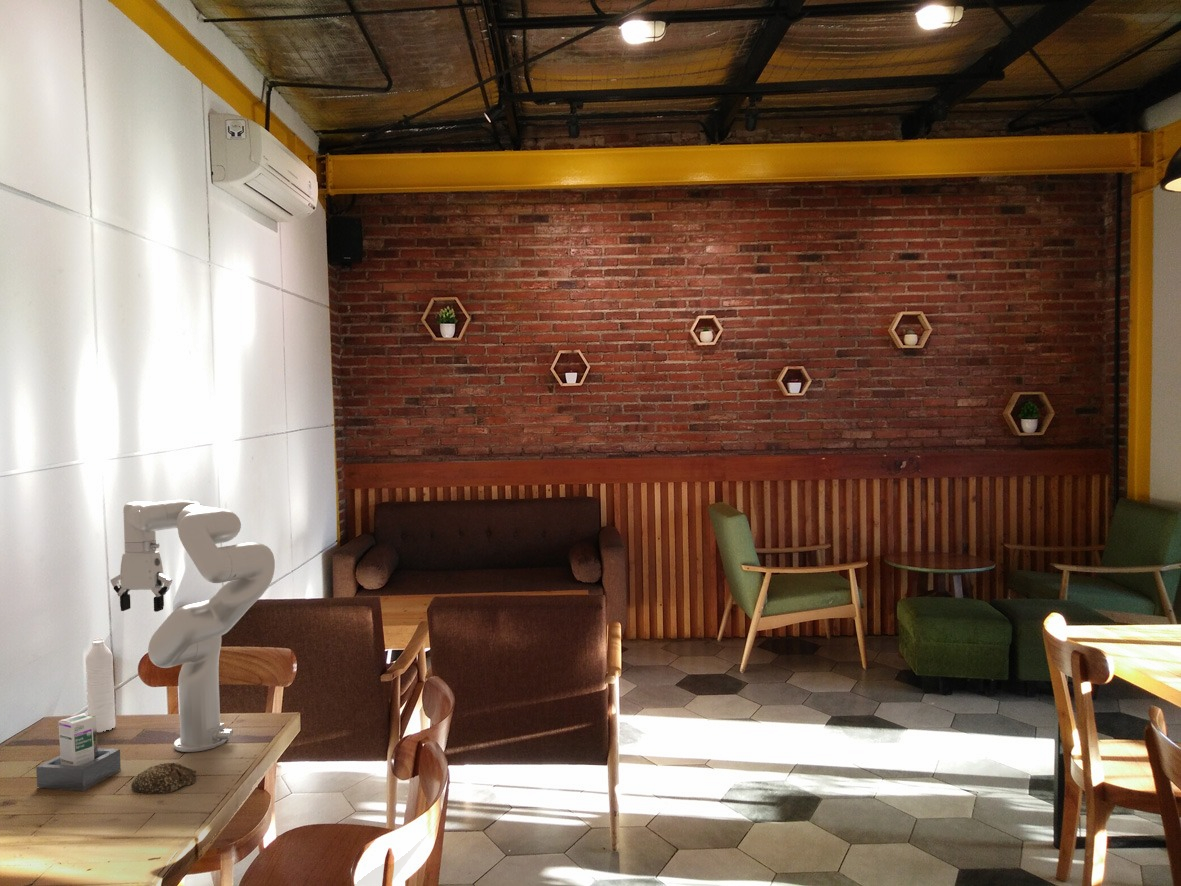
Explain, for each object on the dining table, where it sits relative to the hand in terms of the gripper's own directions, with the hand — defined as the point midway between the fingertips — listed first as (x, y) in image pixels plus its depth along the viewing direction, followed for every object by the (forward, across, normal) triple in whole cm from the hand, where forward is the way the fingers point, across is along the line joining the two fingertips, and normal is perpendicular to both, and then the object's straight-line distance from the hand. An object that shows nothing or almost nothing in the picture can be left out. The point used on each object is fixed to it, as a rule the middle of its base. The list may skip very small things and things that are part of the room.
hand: (142, 610), depth 235 cm
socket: (+32, -5, +32) cm, 46 cm away
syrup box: (+33, -5, +32) cm, 46 cm away
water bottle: (+33, +12, +1) cm, 35 cm away
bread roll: (+33, -28, +33) cm, 54 cm away
